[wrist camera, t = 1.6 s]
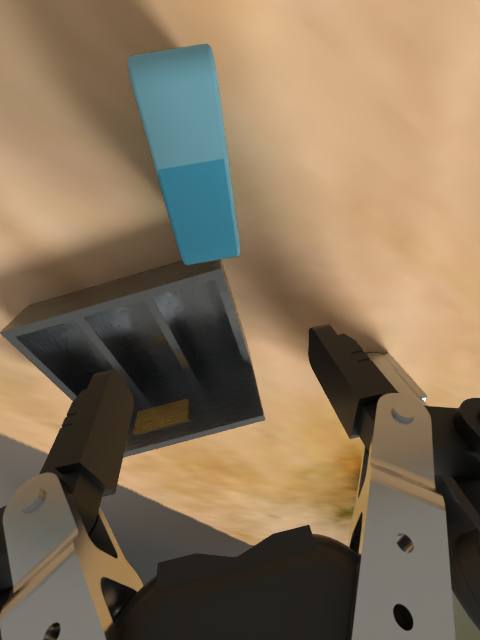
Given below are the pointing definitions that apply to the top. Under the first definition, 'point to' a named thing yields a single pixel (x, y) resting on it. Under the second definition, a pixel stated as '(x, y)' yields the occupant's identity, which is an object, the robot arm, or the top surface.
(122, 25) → the top surface
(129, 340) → the rack
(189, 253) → the blue flat rounded slab
